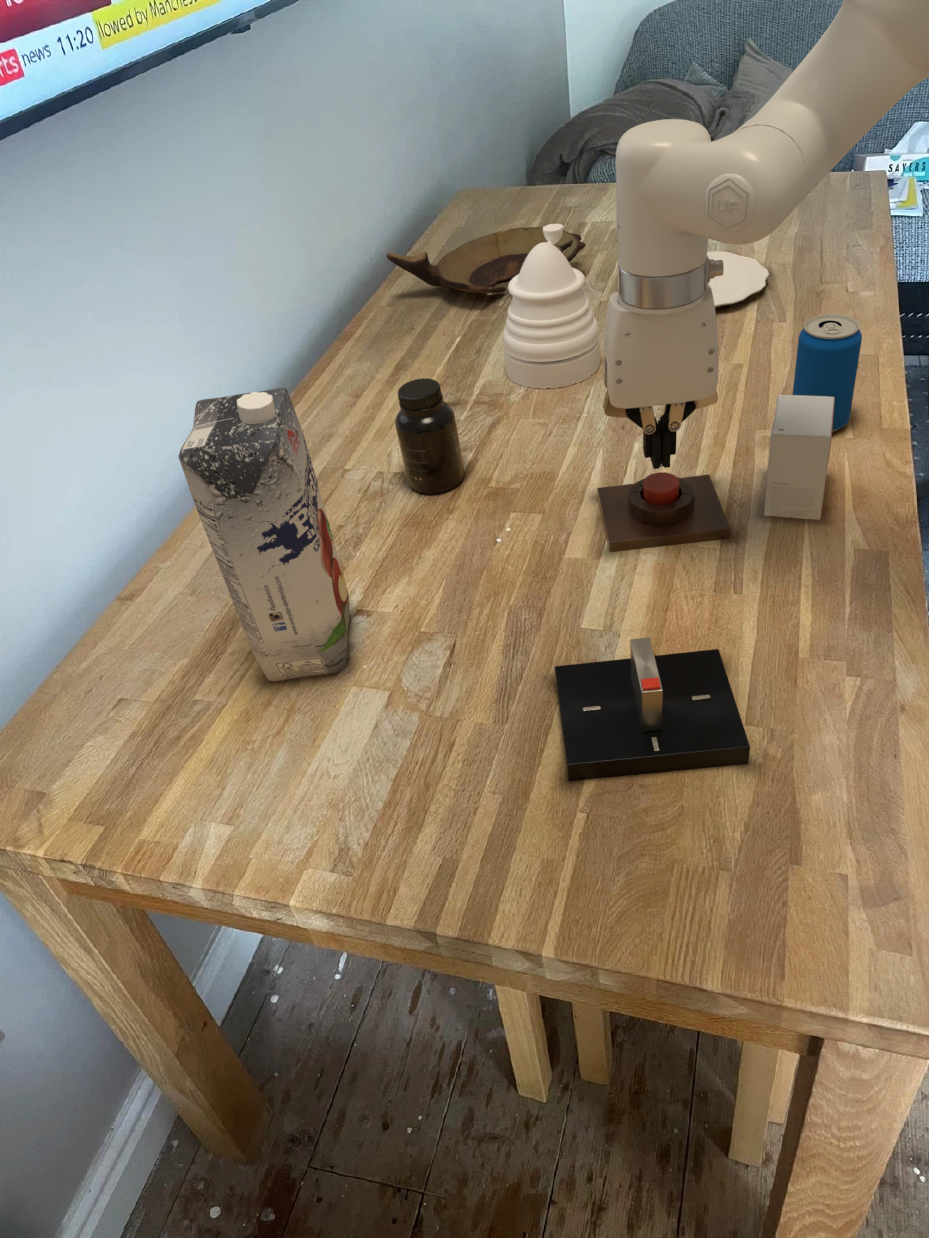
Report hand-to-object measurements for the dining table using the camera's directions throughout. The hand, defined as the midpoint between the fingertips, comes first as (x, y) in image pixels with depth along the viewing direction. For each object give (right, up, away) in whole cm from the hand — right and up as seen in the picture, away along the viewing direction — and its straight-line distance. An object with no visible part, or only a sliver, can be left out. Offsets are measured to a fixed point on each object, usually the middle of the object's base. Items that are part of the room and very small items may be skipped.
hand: (659, 460), depth 94 cm
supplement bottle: (-23, +1, +17) cm, 29 cm away
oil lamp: (-15, +39, +60) cm, 73 cm away
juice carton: (-34, -19, -3) cm, 39 cm away
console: (-4, -25, -16) cm, 30 cm away
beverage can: (+22, +7, +16) cm, 28 cm away
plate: (+15, +34, +48) cm, 60 cm away
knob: (-5, -23, -18) cm, 29 cm away
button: (+1, -3, +3) cm, 4 cm away
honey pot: (-7, +19, +35) cm, 41 cm away
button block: (+1, -6, +5) cm, 8 cm away
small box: (+15, -4, +5) cm, 16 cm away
